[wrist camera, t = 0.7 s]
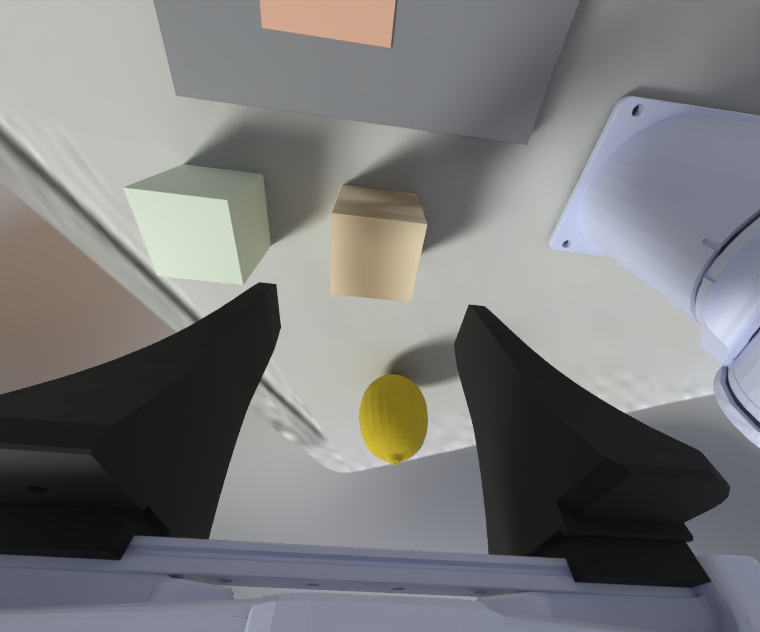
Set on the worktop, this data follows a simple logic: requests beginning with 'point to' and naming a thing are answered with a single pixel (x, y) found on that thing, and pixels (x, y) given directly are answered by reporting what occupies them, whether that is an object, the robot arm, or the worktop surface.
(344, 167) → the worktop surface
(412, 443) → the lemon
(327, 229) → the worktop surface
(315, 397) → the worktop surface
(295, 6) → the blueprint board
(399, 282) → the maple block
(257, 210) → the sage block
